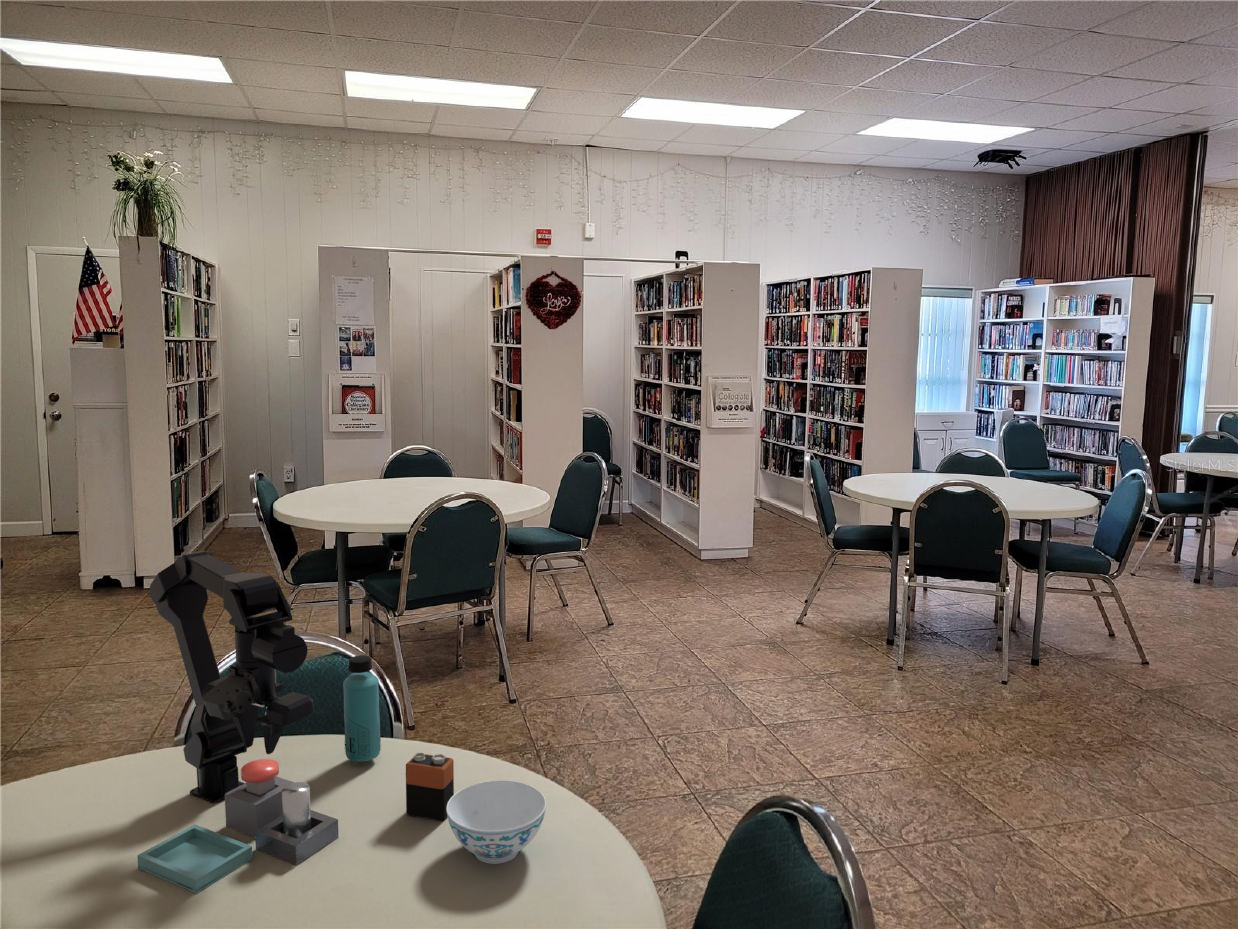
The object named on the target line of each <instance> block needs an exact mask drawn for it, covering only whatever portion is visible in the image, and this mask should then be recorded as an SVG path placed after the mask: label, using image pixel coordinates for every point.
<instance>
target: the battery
mask: <svg viewBox="0 0 1238 929" xmlns="http://www.w3.org/2000/svg"><path fill="white" fill-rule="evenodd" d="M454 762H455V761H454V759H453V758H452V757H447V756H446V755H445V754H442V753H438V754H426V753H423V752H416V753H415V754H414V756H413V757H412V758H410V760H409V761H407V762H406V764H405V803H406V805H405V809H406V810H405V811H406V815H407V816H410V817H417V818H421V819H426V820H427V819H428V820H433V821H440V822H442V821H444V820H445V819H446V818H448V816H447V811H446V808H447V803H448V801H449V800H450V798H451V797H452V796H453V795H454V794H455V793H454V792H455V789H454V788H455V787H454V786H455V783H454V782H455V779H454V778H455V777H454V776H455V775H454V770H455V768H454V766H455V765H454Z"/></svg>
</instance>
